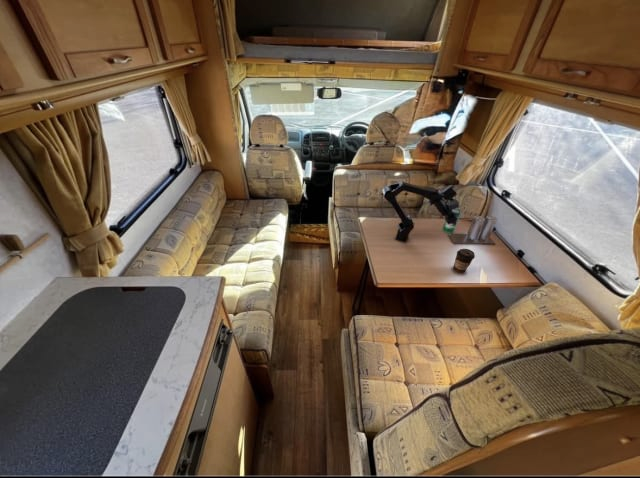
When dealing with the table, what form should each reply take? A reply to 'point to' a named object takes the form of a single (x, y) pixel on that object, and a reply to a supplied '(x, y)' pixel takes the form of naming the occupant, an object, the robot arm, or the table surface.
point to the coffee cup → (463, 260)
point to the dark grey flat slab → (462, 240)
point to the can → (450, 228)
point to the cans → (485, 228)
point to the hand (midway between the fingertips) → (453, 221)
